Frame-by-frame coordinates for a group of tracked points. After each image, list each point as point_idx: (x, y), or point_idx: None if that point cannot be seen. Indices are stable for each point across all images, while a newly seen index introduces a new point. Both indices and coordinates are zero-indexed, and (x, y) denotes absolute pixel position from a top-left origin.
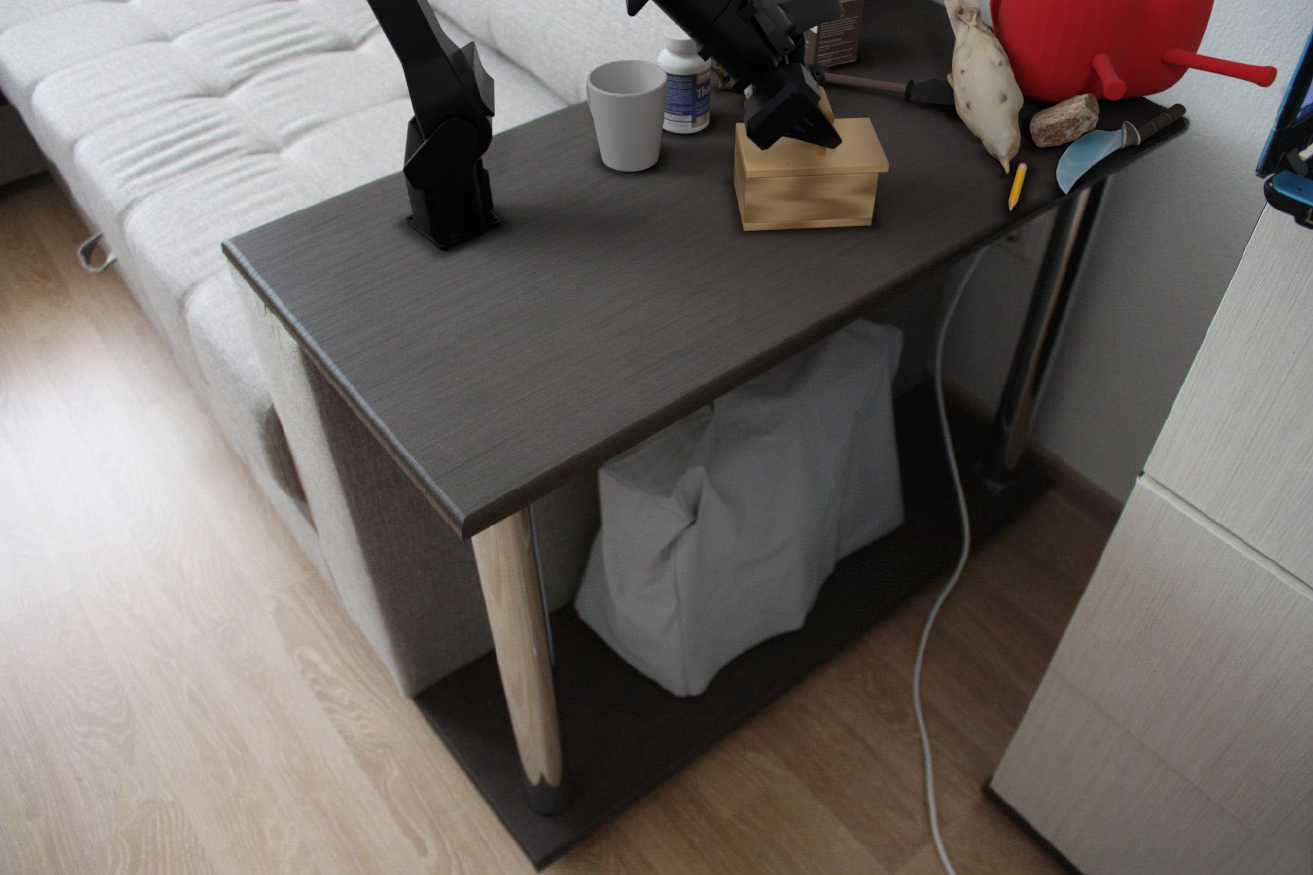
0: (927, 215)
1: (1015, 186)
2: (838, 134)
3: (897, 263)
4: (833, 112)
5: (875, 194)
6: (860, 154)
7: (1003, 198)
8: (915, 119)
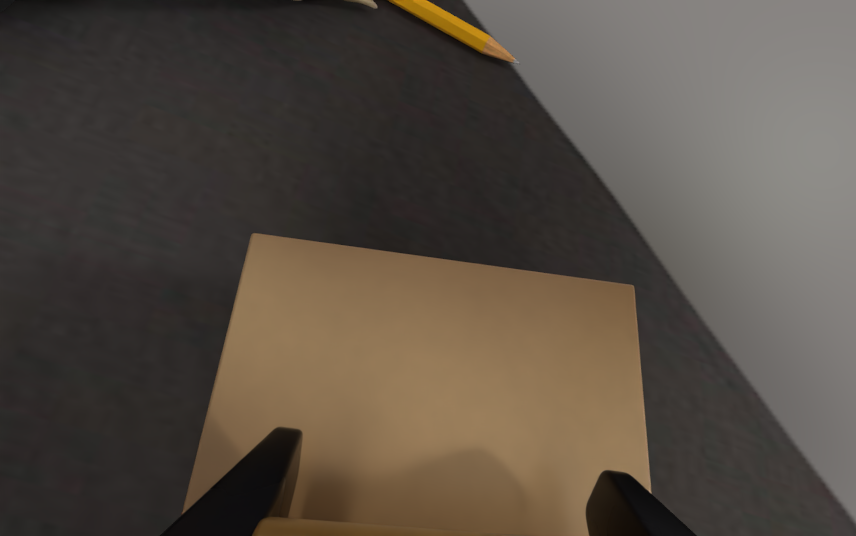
0: (503, 217)
1: (446, 17)
2: (657, 506)
3: (693, 353)
4: (300, 430)
5: None
6: (558, 370)
7: (457, 54)
8: (24, 67)
